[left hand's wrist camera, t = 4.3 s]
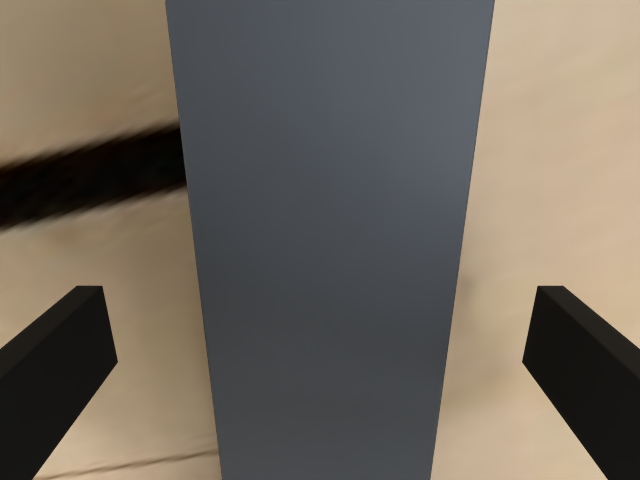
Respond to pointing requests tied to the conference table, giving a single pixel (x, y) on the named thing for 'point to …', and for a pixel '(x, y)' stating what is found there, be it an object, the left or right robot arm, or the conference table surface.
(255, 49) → the beam
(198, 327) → the conference table surface
